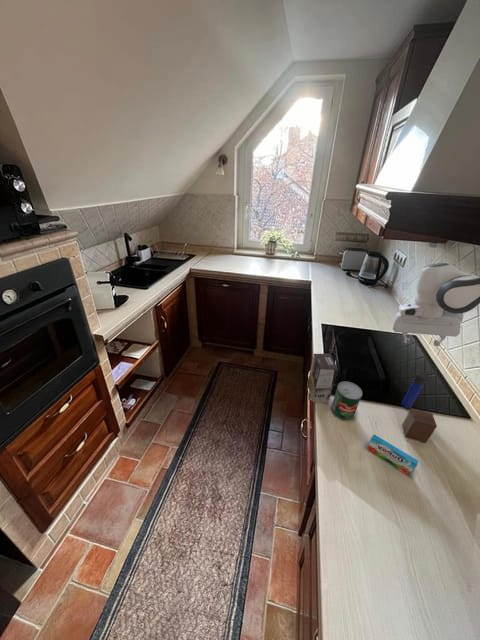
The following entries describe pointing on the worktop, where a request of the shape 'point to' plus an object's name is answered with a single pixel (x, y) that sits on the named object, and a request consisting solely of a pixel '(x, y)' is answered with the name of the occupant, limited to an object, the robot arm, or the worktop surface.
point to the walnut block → (419, 425)
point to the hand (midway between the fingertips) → (421, 344)
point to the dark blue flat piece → (414, 390)
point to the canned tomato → (346, 400)
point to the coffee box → (322, 377)
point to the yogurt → (392, 455)
